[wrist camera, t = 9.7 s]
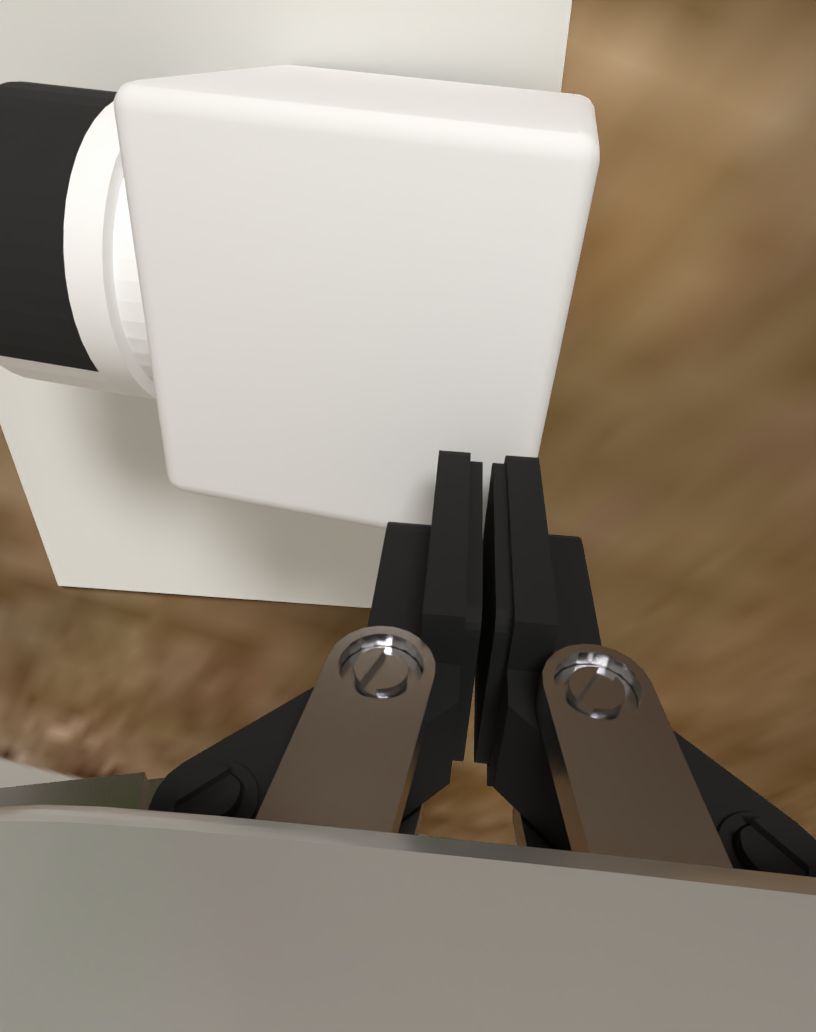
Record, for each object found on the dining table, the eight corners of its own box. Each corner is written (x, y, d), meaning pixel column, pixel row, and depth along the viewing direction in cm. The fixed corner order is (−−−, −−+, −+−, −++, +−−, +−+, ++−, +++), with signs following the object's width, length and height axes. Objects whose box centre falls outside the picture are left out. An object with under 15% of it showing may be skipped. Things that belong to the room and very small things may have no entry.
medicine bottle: (598, 94, 15) (77, 41, 16) (607, 134, 9) (-198, 46, 11) (537, 401, 19) (125, 336, 20) (516, 561, 13) (-54, 454, 15)
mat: (589, -155, 13) (591, -158, 13) (495, 611, 25) (495, 616, 25) (-199, -161, 14) (-211, -164, 14) (62, 580, 26) (58, 585, 26)
